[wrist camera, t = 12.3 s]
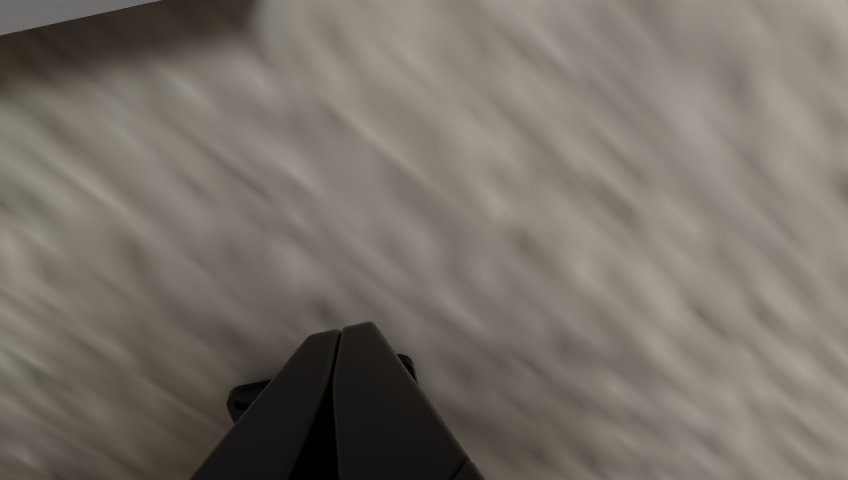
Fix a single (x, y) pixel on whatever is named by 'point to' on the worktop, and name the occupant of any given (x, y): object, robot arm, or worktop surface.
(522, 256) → the worktop surface
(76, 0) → the switch panel
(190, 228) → the worktop surface
